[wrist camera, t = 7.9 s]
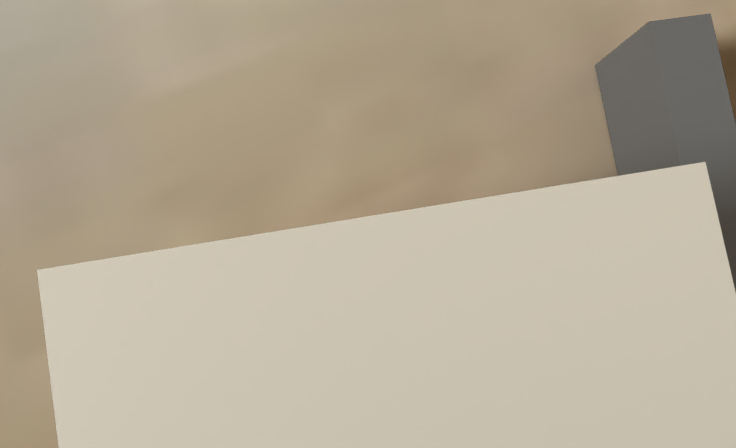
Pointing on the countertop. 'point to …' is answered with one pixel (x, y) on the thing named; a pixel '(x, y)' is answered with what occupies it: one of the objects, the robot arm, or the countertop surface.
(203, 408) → the cream carton
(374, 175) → the countertop surface
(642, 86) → the price rail
